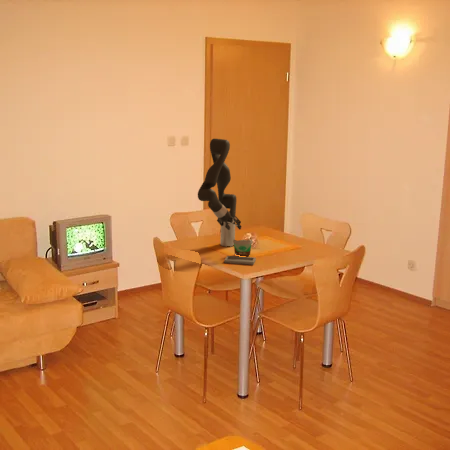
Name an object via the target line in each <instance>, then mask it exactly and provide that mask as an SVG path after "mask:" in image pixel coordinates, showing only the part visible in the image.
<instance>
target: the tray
mask: <svg viewBox="0 0 450 450" xmlns="http://www.w3.org/2000/svg"><path fill="white" fill-rule="evenodd" d="M256 259H257V258H256V257H251V256H248V257H239V256H235V255H226V257H225V258H224V261H223V262H224V264H231V265H245V266H246V265H247V266H254V265H255V263H256Z"/></svg>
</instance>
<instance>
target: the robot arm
mask: <svg viewBox="0 0 450 450" xmlns="http://www.w3.org/2000/svg"><path fill="white" fill-rule="evenodd" d="M230 147H231V144H230V141H229V140H228V139H225V138H223V139H222V138H212V139H211V140H210V142H209V151H210V155H211V159H212V163H213V164H212V165H211V166H210V167H209V168H208V169H207V172H206V175H205V178H204V181H203V183H202V184H201V185H200V187H199V189H198V192H197V199H198V200H199V201H201V202H207V207H209V209H210V210H211V211H212V213H213V214H214V216H215V217H216V218H217V220H216V221H217V222H218V224H219V225H220V238H219V239H220V241H219V242H220V243H219V245H220V246H222V247H227V246H230V247H234V246H233V245H234V243H233V240H236V228H237V229H238V230H242V225H241V222H242V221H241V220H240V219H239V218H238V217H237V215H236V212H237V211H236V210H237V196H236V194H234V193H232V194H230V193H225V190H226V188H227V187H228V185H230V181H231V170H230V167H229V166H228V165H227V163H226V162H225V161H226V159H227V157H228V154H229V152H230ZM216 185H217V193H216V191H215V190H214V189H212V188H214V187H216ZM228 209H229V210H228Z"/></svg>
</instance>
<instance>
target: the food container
mask: <svg viewBox="0 0 450 450" xmlns="http://www.w3.org/2000/svg"><path fill="white" fill-rule="evenodd" d="M233 243H234V246H233V251H234V255H235V254H236V255H240V256H248V257H250V256H251V251H252V250H251V249H252V245H253V239H240V240H237V239H235V240H233ZM249 255H250V256H249Z"/></svg>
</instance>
